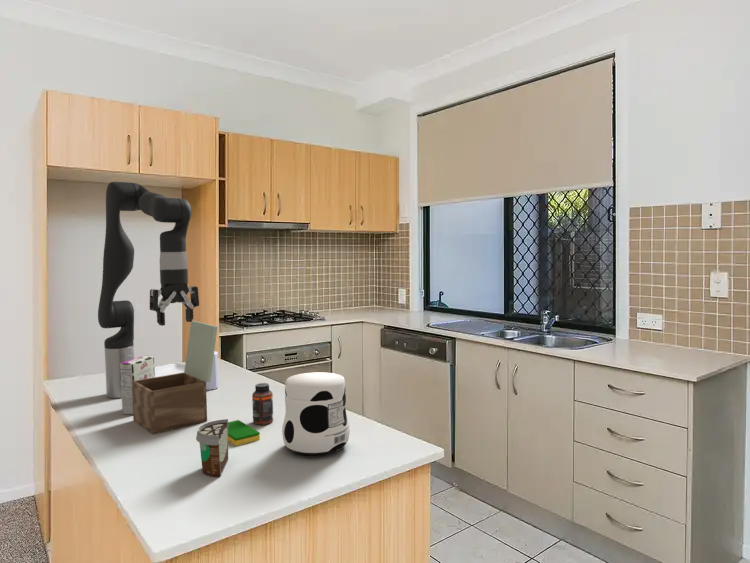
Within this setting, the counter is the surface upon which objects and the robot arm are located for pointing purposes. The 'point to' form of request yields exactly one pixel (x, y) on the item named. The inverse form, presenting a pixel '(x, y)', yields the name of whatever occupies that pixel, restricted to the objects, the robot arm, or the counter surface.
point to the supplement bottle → (262, 404)
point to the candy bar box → (134, 378)
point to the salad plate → (169, 369)
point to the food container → (213, 447)
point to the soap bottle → (213, 374)
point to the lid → (200, 350)
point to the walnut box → (169, 402)
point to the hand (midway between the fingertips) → (175, 323)
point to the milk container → (315, 413)
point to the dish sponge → (241, 433)
